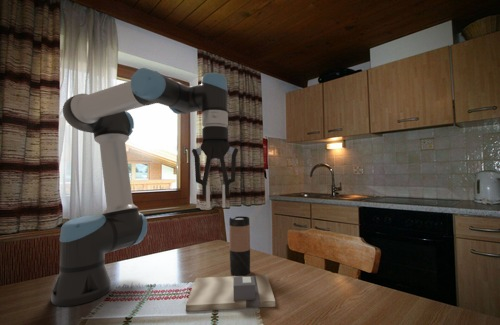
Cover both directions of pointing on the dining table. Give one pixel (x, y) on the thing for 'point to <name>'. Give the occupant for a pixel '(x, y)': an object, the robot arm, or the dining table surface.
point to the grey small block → (244, 288)
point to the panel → (227, 294)
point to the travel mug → (239, 245)
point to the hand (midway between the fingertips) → (216, 207)
